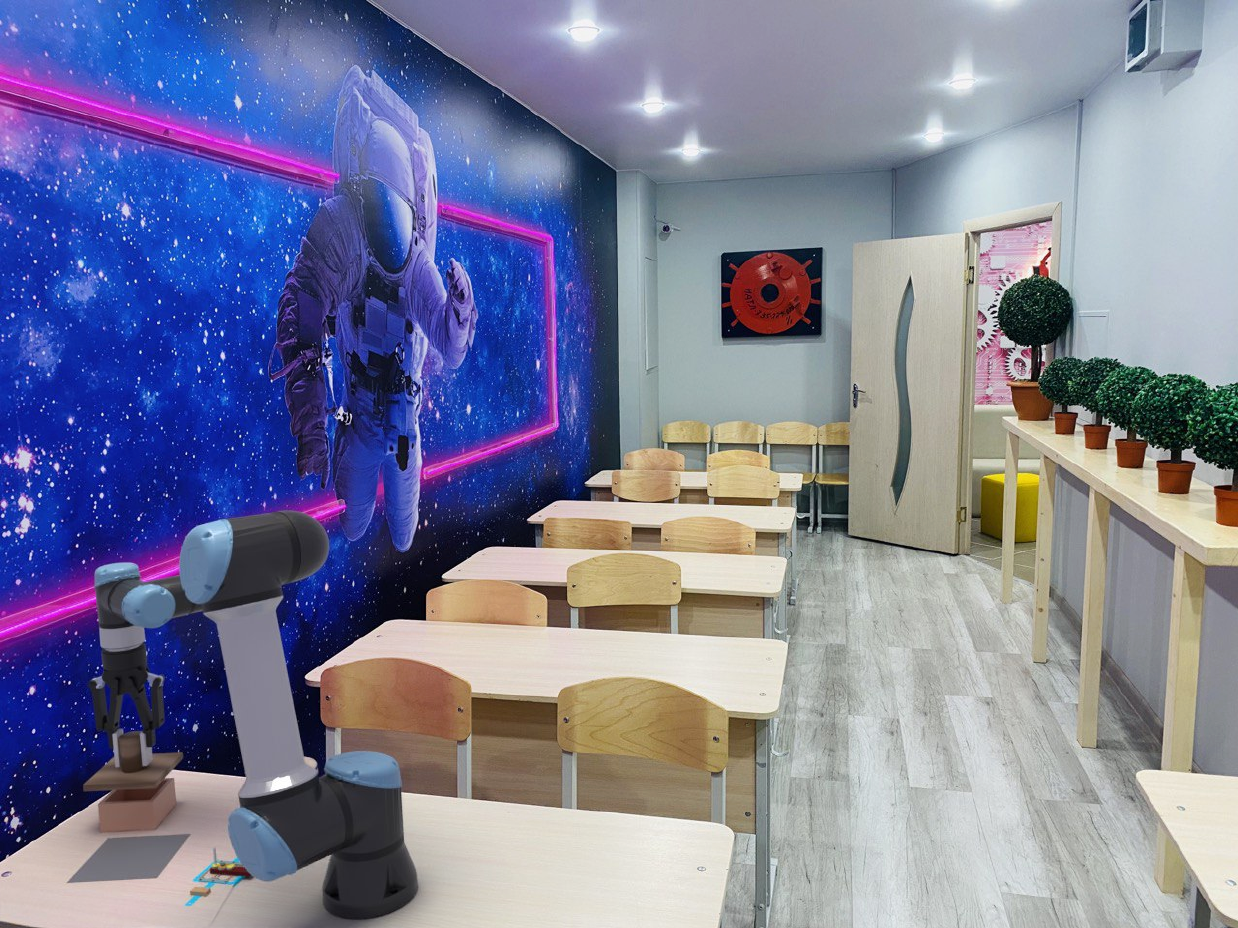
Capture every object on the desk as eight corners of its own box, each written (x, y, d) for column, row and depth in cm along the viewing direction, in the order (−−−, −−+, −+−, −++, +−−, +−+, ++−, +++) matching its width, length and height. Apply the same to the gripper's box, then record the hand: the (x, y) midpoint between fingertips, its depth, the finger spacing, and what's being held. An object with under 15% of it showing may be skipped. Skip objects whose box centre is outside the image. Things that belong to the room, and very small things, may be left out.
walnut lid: (155, 787, 180) (152, 748, 179) (83, 791, 179) (79, 751, 178) (183, 757, 193) (179, 720, 192) (116, 760, 192) (112, 723, 191)
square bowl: (155, 831, 182) (152, 801, 181) (100, 834, 182) (97, 804, 181) (176, 806, 192) (174, 777, 191) (124, 809, 192) (122, 780, 191)
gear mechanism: (283, 850, 175) (236, 846, 177) (281, 821, 174) (234, 818, 176) (218, 914, 156) (166, 909, 157) (215, 882, 155) (163, 878, 157)
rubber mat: (157, 880, 165) (156, 877, 165) (66, 885, 164) (66, 882, 164) (191, 836, 180) (190, 833, 180) (108, 840, 179) (108, 837, 179)
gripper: (178, 637, 187) (188, 753, 190) (85, 641, 186) (97, 757, 189) (162, 649, 179) (172, 769, 182) (65, 653, 178) (77, 774, 181)
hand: (134, 763), depth 185 cm, fingers closed on walnut lid, 4 cm apart
